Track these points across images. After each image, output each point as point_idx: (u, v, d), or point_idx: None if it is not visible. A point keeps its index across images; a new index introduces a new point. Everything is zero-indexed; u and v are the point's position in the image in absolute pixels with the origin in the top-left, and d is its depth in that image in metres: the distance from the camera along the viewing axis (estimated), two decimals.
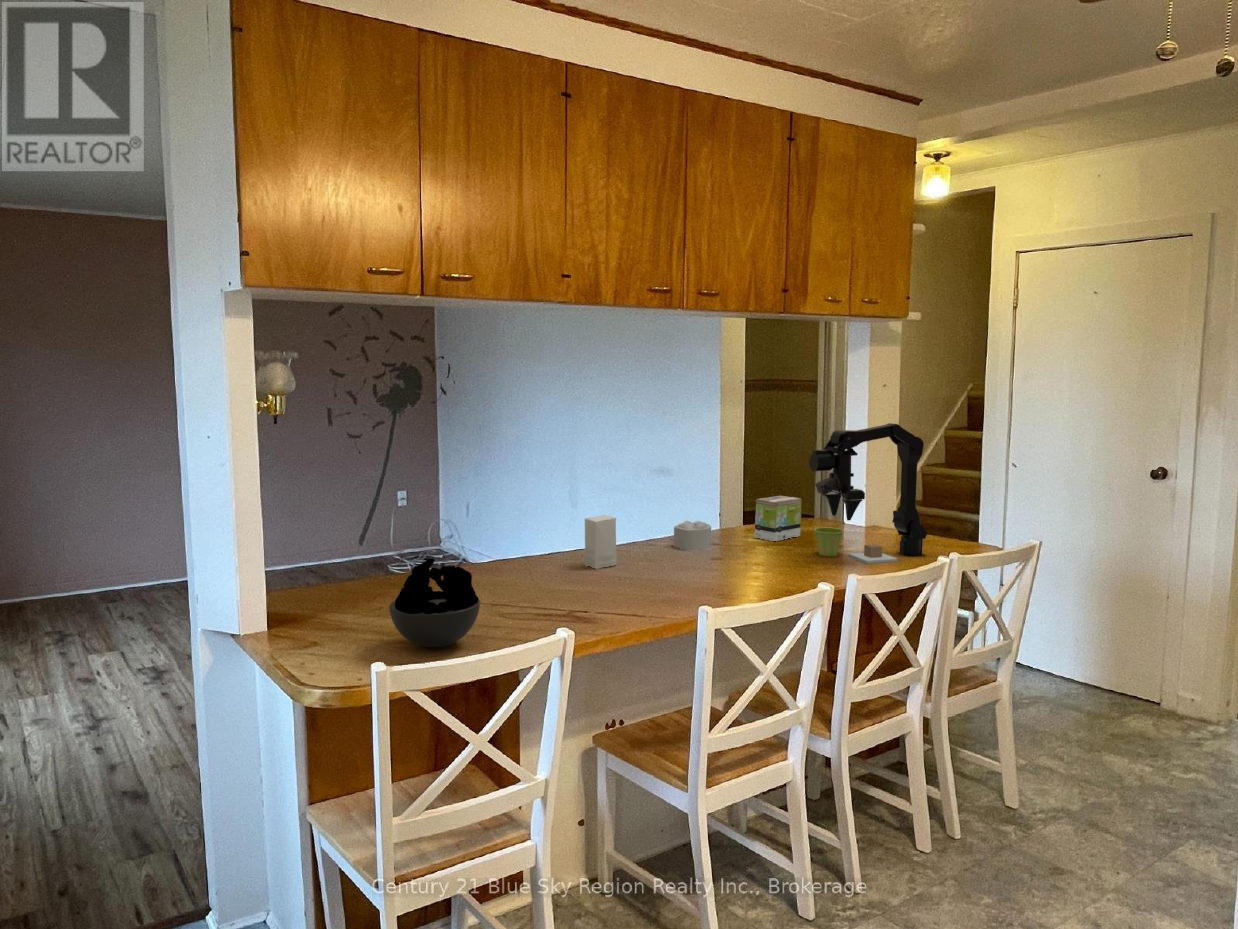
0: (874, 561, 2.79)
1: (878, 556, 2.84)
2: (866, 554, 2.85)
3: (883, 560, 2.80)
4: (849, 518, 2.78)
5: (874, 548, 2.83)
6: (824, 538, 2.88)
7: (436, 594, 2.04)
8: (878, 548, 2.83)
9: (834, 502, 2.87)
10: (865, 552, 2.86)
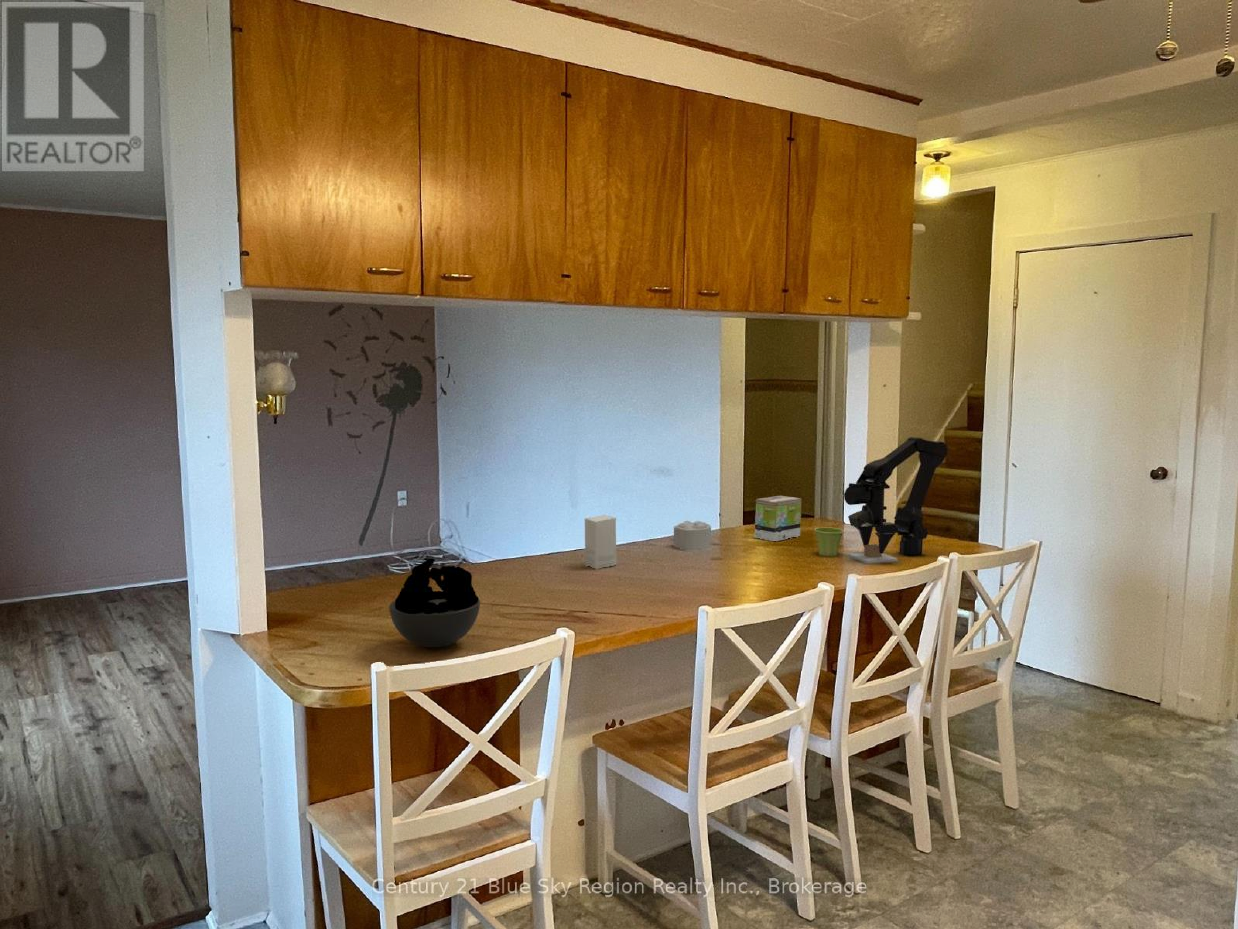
0: (874, 561, 2.79)
1: (878, 556, 2.84)
2: (866, 554, 2.85)
3: (883, 560, 2.80)
4: (882, 551, 2.80)
5: (874, 548, 2.83)
6: (824, 538, 2.88)
7: (436, 594, 2.04)
8: (878, 548, 2.83)
9: (866, 534, 2.89)
10: (865, 552, 2.86)
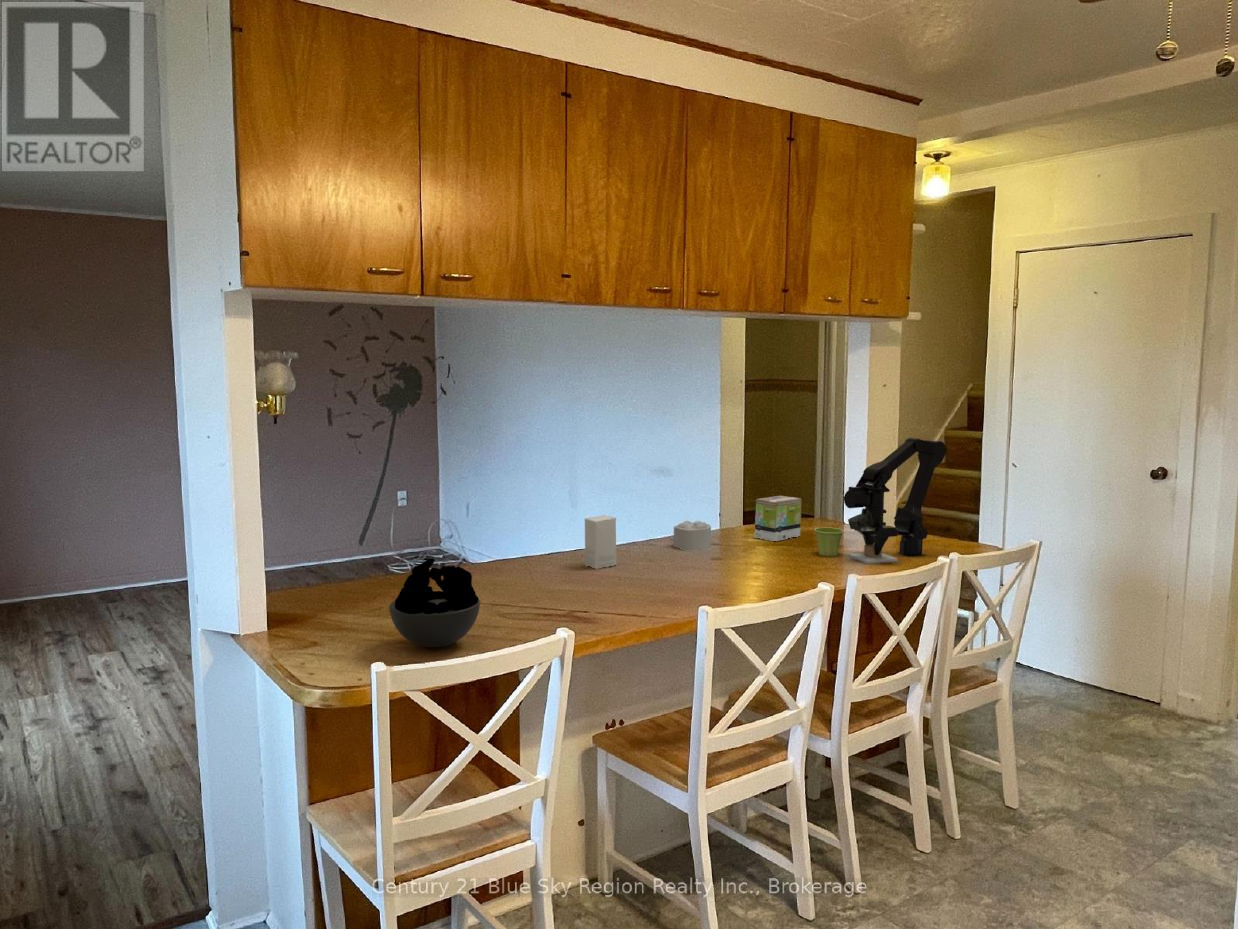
0: (874, 561, 2.79)
1: (878, 556, 2.84)
2: (866, 554, 2.85)
3: (883, 560, 2.80)
4: (877, 553, 2.83)
5: None
6: (824, 538, 2.88)
7: (436, 594, 2.04)
8: None
9: (870, 539, 2.87)
10: (865, 552, 2.86)
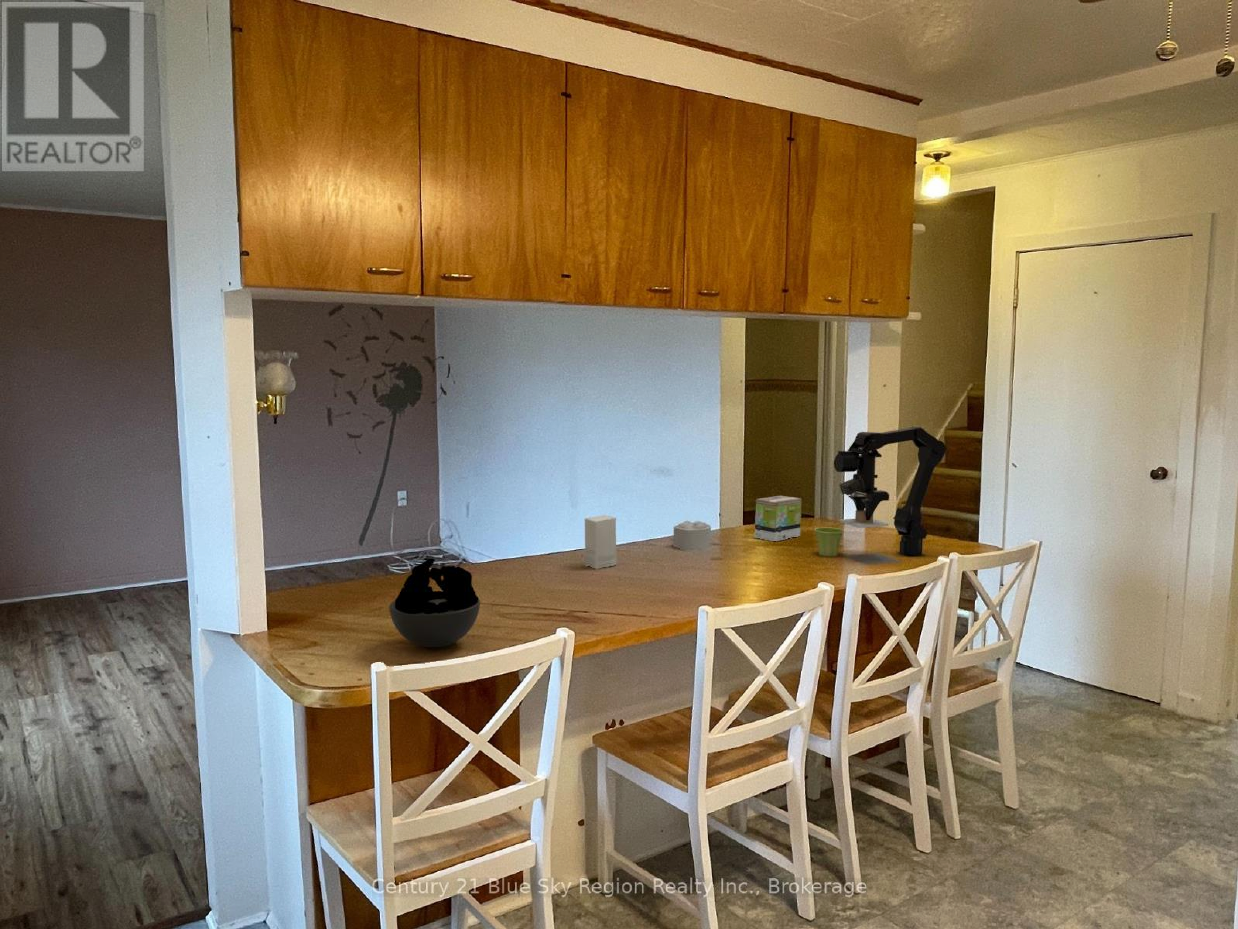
0: (865, 525, 2.79)
1: (869, 521, 2.84)
2: (857, 519, 2.85)
3: (874, 525, 2.80)
4: (868, 518, 2.83)
5: (865, 513, 2.83)
6: (824, 538, 2.88)
7: (436, 594, 2.04)
8: None
9: (861, 504, 2.87)
10: (856, 517, 2.86)
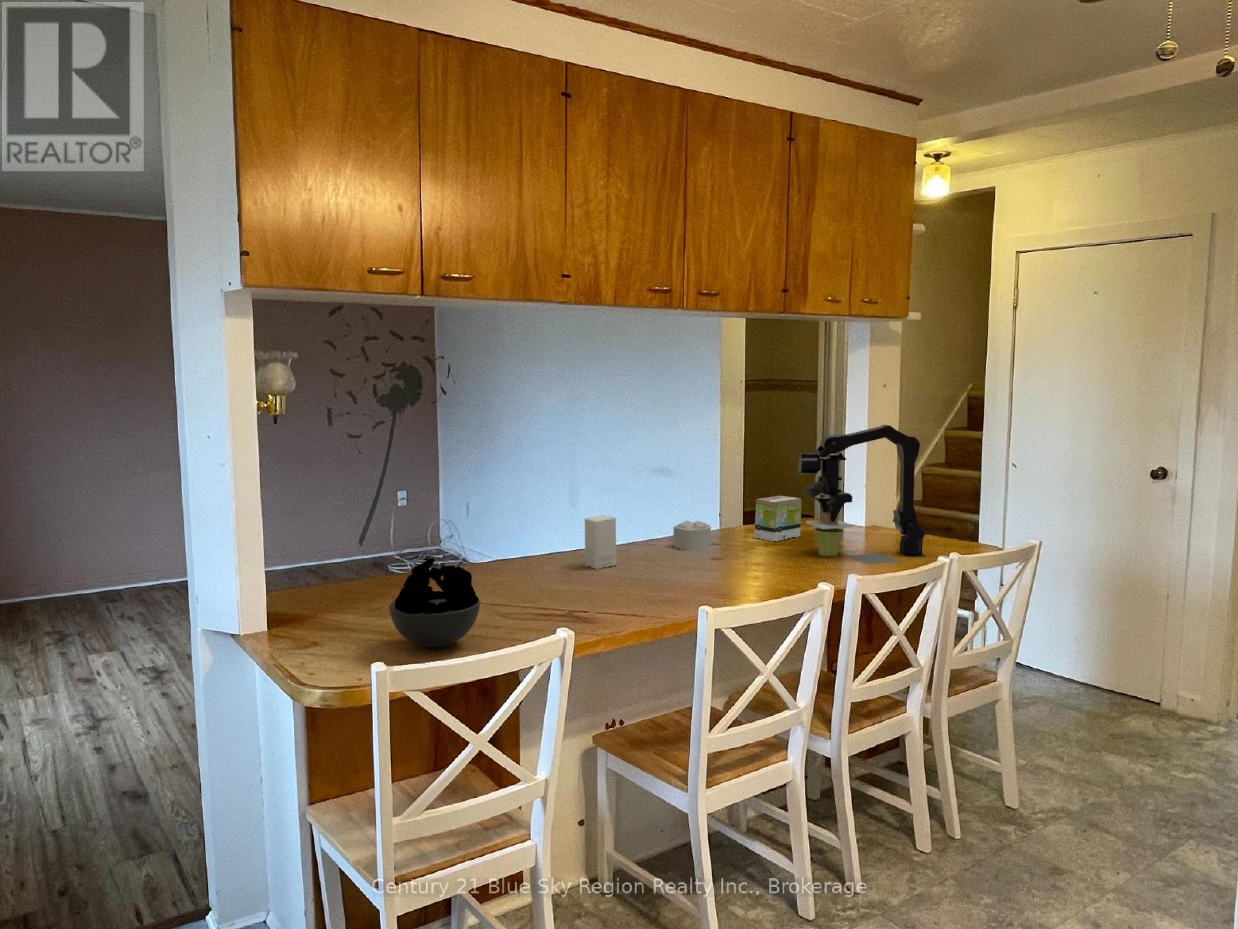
0: (829, 527, 2.85)
1: (834, 522, 2.89)
2: (822, 521, 2.91)
3: (838, 526, 2.86)
4: (833, 519, 2.88)
5: None
6: (824, 538, 2.88)
7: (436, 594, 2.04)
8: None
9: (826, 506, 2.93)
10: (821, 519, 2.91)
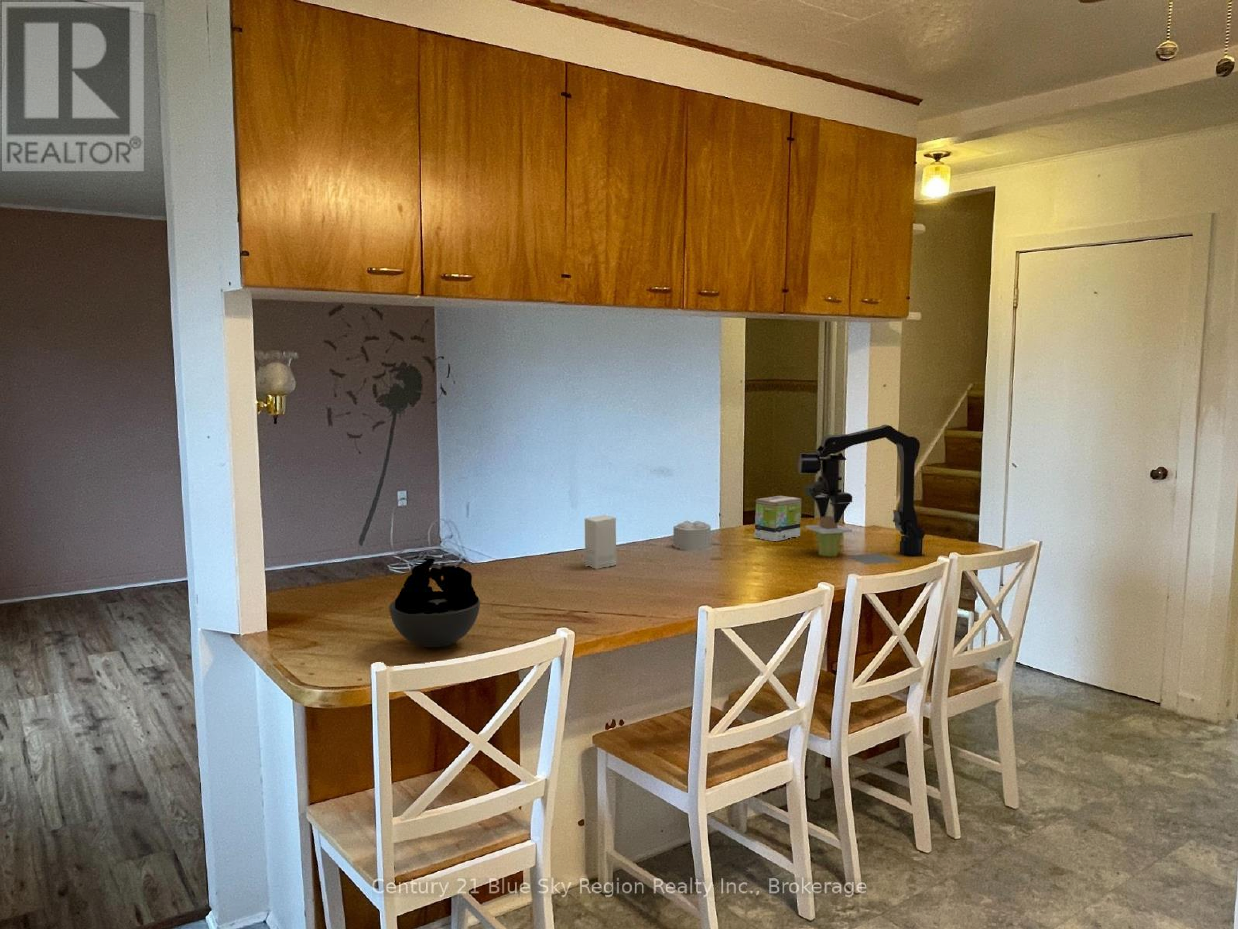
0: (829, 532, 2.85)
1: (833, 527, 2.89)
2: (822, 525, 2.91)
3: (838, 531, 2.86)
4: (837, 521, 2.86)
5: (829, 519, 2.89)
6: (824, 538, 2.88)
7: (436, 594, 2.04)
8: (833, 519, 2.89)
9: (823, 505, 2.95)
10: (821, 523, 2.92)
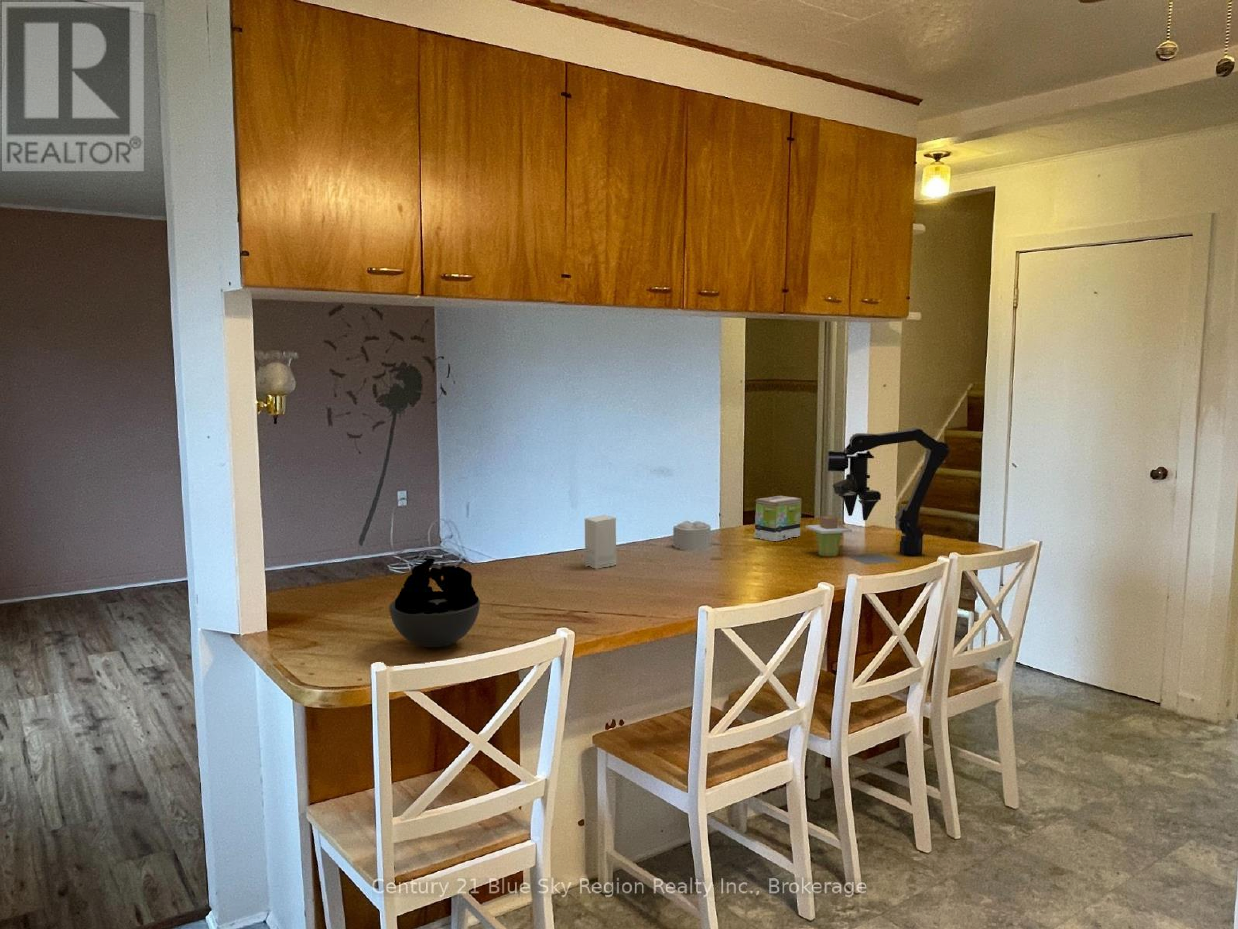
0: (829, 532, 2.85)
1: (833, 527, 2.89)
2: (822, 525, 2.91)
3: (838, 531, 2.86)
4: (865, 518, 2.88)
5: (829, 519, 2.89)
6: (824, 538, 2.88)
7: (436, 594, 2.04)
8: (833, 519, 2.89)
9: (850, 503, 2.97)
10: (821, 523, 2.92)
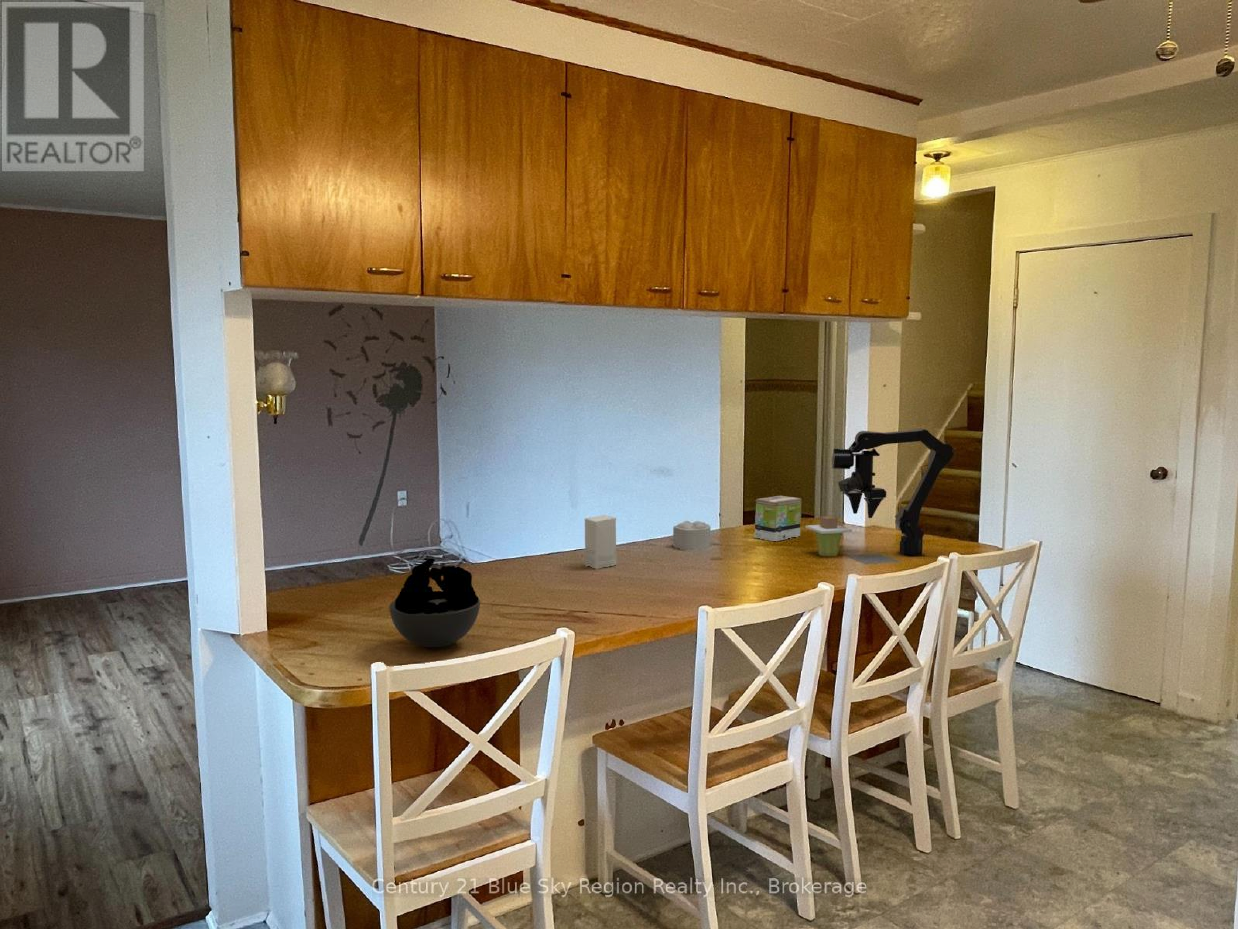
0: (829, 532, 2.85)
1: (833, 527, 2.89)
2: (822, 525, 2.91)
3: (838, 531, 2.86)
4: (870, 516, 2.88)
5: (829, 519, 2.89)
6: (824, 538, 2.88)
7: (436, 594, 2.04)
8: (833, 519, 2.89)
9: (855, 500, 2.97)
10: (821, 523, 2.92)
